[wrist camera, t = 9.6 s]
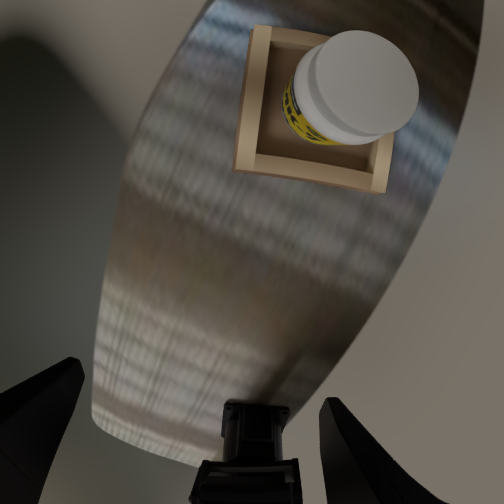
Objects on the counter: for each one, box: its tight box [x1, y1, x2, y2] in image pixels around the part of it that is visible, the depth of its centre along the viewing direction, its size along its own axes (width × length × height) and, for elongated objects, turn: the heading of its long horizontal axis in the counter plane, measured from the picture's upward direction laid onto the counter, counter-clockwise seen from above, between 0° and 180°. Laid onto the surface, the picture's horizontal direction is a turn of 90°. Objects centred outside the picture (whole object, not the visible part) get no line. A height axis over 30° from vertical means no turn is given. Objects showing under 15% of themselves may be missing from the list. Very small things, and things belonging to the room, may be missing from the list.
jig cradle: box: [232, 25, 395, 195], centre depth 15 cm, size 10×10×2 cm
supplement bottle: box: [281, 30, 419, 145], centre depth 12 cm, size 5×5×8 cm
